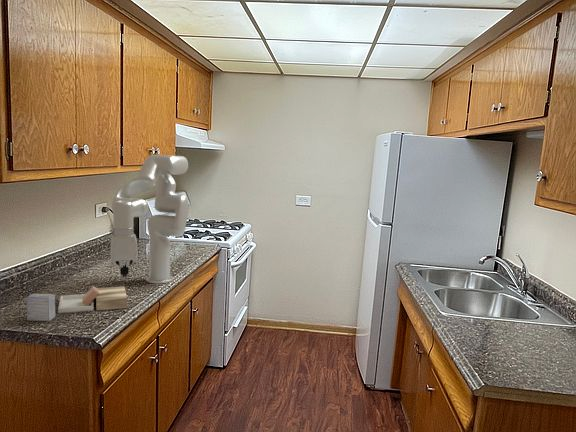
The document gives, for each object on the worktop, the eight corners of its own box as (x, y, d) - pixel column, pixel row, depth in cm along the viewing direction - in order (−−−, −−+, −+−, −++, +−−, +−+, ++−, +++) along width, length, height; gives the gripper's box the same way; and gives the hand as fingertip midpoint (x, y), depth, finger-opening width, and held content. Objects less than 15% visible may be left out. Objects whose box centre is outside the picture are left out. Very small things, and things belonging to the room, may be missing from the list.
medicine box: (55, 317, 160) (55, 294, 159) (49, 321, 155) (49, 297, 154) (33, 316, 159) (33, 293, 158) (26, 320, 155) (26, 297, 154)
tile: (87, 301, 177) (82, 297, 176) (98, 289, 178) (93, 285, 177) (87, 305, 172) (82, 302, 171) (98, 293, 173) (93, 290, 172)
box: (60, 300, 177) (60, 295, 177) (93, 297, 182) (93, 293, 182) (58, 313, 163) (58, 309, 163) (93, 310, 168) (93, 306, 168)
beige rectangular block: (96, 297, 183) (96, 288, 182) (124, 295, 187) (124, 286, 187) (96, 310, 168) (96, 300, 168) (127, 308, 173) (127, 298, 172)
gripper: (103, 234, 170) (104, 280, 173) (144, 232, 176) (144, 277, 179) (103, 230, 176) (104, 274, 180) (142, 229, 182) (142, 271, 186)
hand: (124, 275), depth 179 cm, fingers closed
